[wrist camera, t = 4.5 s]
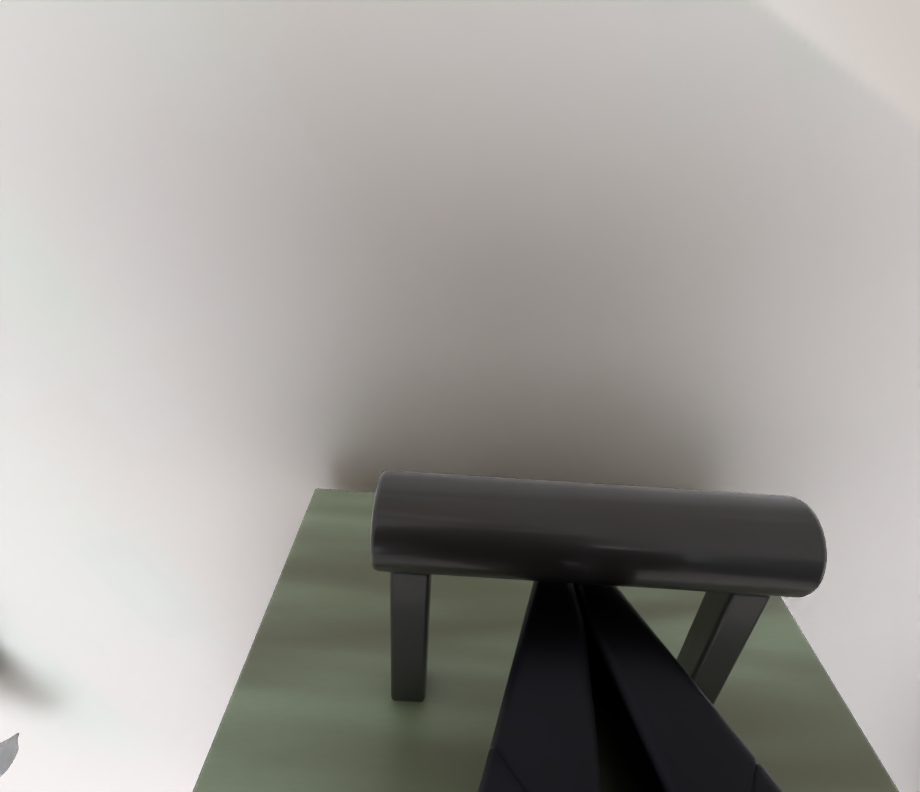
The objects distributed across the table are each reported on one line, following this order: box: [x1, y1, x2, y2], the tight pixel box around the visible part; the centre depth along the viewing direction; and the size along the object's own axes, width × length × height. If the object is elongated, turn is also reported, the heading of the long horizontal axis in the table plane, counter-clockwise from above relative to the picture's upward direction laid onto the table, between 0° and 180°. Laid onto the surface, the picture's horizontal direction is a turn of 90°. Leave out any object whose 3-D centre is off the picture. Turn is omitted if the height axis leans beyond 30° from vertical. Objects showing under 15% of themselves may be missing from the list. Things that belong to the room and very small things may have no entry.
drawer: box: [193, 470, 899, 792], centre depth 13 cm, size 17×11×8 cm, turn 177°
